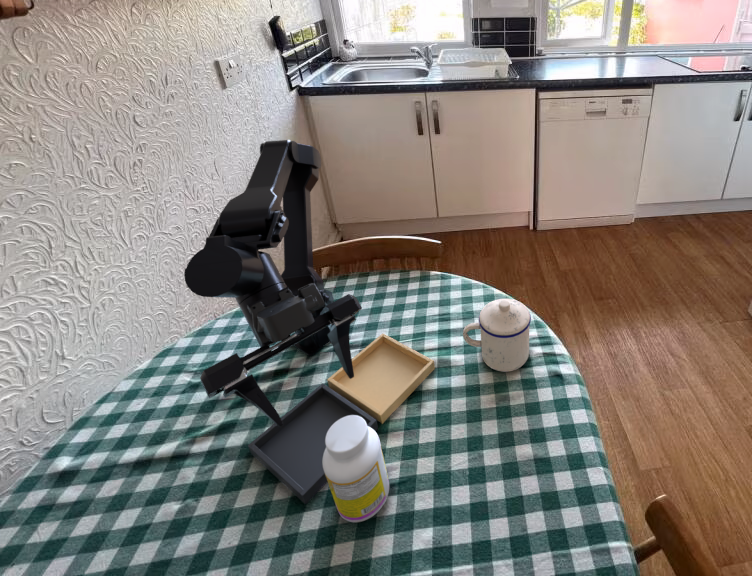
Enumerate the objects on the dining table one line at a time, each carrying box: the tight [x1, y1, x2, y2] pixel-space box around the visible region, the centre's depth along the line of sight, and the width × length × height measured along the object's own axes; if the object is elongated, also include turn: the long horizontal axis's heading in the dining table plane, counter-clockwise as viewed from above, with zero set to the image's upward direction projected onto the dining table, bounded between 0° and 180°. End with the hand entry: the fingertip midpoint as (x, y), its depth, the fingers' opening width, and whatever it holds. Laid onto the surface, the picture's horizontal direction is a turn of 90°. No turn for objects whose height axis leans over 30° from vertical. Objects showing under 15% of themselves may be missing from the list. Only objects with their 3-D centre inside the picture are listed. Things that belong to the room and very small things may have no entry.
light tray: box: [326, 332, 436, 425], centre depth 71 cm, size 13×12×2 cm
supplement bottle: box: [322, 415, 390, 523], centre depth 51 cm, size 7×7×13 cm
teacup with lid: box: [462, 298, 532, 373], centre depth 73 cm, size 12×9×12 cm
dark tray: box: [247, 383, 379, 505], centre depth 61 cm, size 13×12×2 cm
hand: (318, 400), depth 53 cm, fingers open, 9 cm apart
